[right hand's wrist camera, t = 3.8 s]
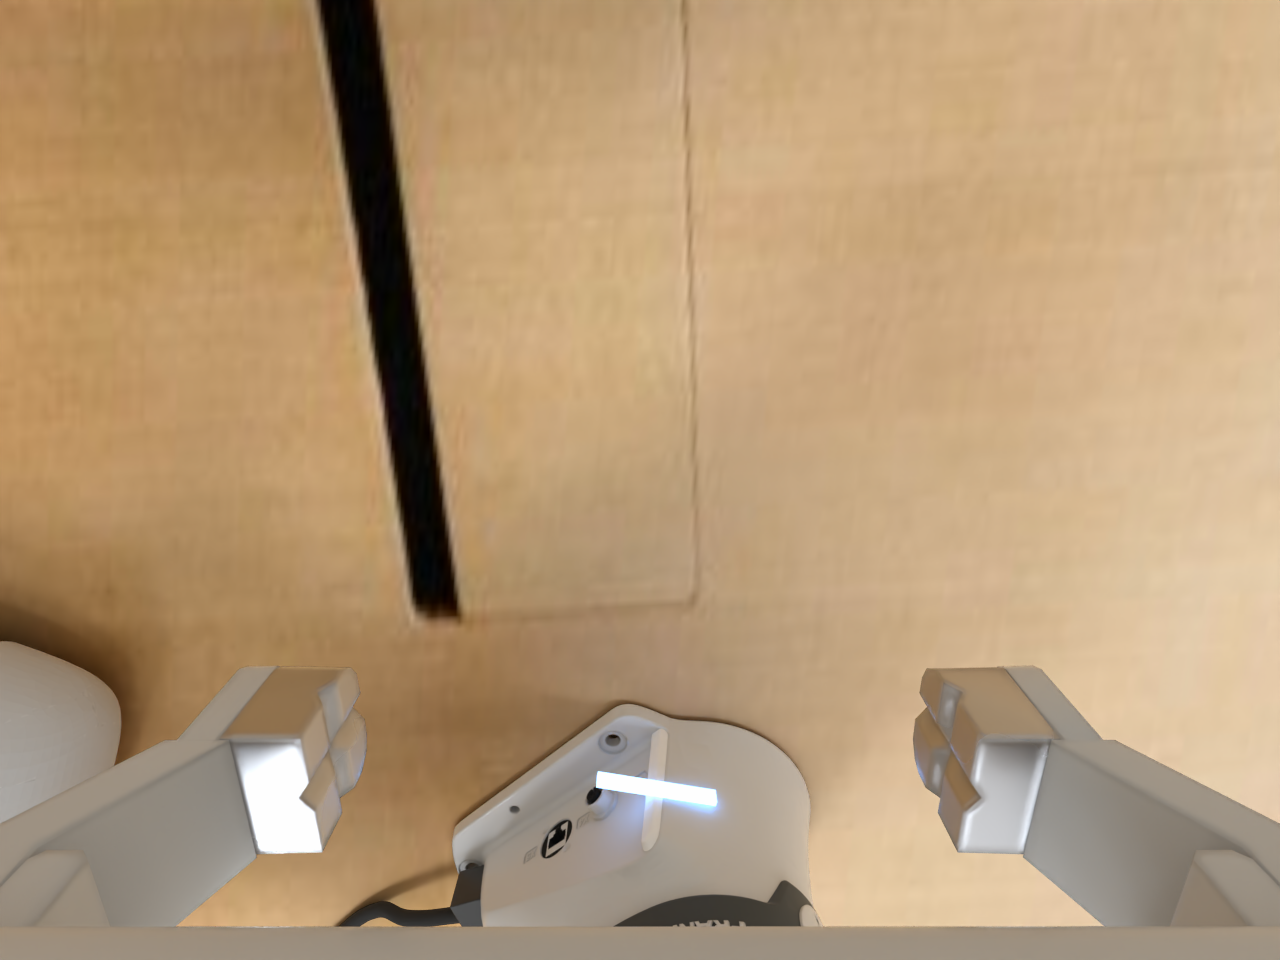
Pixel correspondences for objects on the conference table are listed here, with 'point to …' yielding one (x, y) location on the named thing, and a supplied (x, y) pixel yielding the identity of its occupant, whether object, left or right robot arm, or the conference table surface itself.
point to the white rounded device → (50, 727)
